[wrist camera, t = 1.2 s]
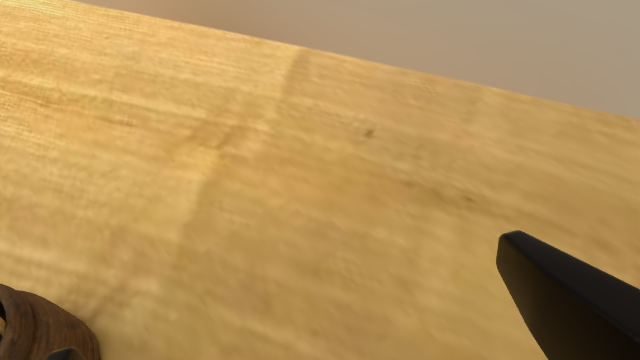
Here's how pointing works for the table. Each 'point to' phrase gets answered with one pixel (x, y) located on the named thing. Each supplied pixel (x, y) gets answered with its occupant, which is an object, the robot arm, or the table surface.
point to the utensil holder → (39, 328)
